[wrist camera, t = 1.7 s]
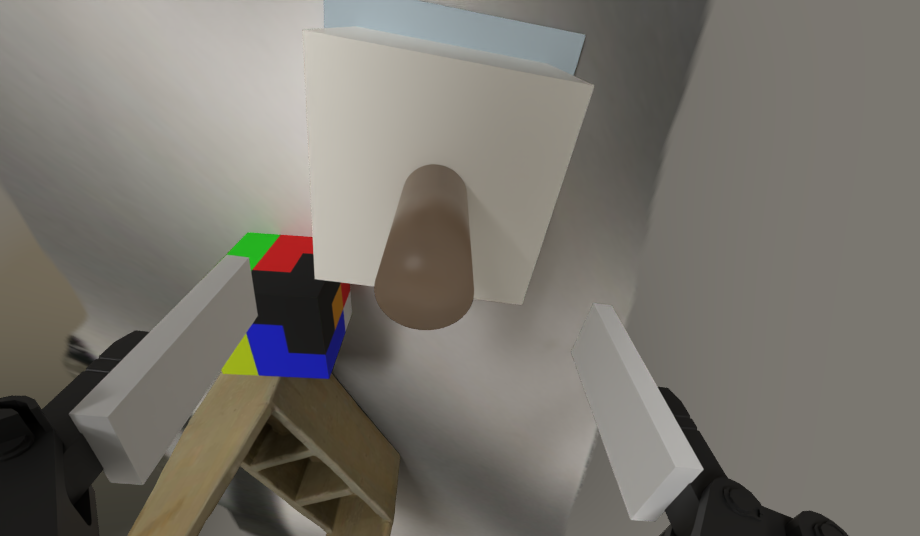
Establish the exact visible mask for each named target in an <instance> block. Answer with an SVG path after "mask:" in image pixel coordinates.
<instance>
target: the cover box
mask: <svg viewBox="0 0 920 536" xmlns="http://www.w3.org/2000/svg"><path fill="white" fill-rule="evenodd" d="M302 34H303V54H304V74H305V94H306V114H307V134H308V155H309V175H310V195H311V215H312V235H313V255H314V275H315V279H318V280H326V281H334V282H342V283H350V284H358V285H366V286H374V293H375V298H376V300H377V303H378V305H379V307H380V308H381V309H382V311H383V312H384V313H385V314H386V315H387V316H388V317H389V318H391V319H392V320H394V321H395V322H397V323H399V324H401V325H403V326H406V327H409V328H413V329H418V330H434V329H440V328H444V327H446V326H449V325H451V324H453V323H455V322H457V321H458V320H459V319H461V318H462V317H463V316H464V315H465V314H466V313H467V311H468V310H469V308H470V306H471V304H472V302H473V299H477V300H485V301H493V302H501V303H509V304H517V305H522V304H523V301H524V298H525V295H526V292H527V289H528V286H529V283H530V280H531V277H532V274H533V271H534V268H535V265H536V262H537V259H538V256H539V252H540V249H541V246H542V243H543V240H544V237H545V234H546V231H547V228H548V225H549V222H550V219H551V216H552V213H553V210H554V207H555V204H556V201H557V198H558V195H559V192H560V189H561V186H562V183H563V180H564V177H565V174H566V171H567V168H568V165H569V162H570V159H571V156H572V153H573V150H574V146H575V143H576V140H577V137H578V134H579V131H580V128H581V125H582V122H583V119H584V116H585V113H586V110H587V107H588V104H589V101H590V98H591V95H592V92H593V89H594V85H592V84H590V83H588V82H586V81H584V80H582V79H579V78H577V77H575V76H573V75H571V74H569V73H567V72H564V71H562V70H560V69H558V68H556V67H554V66H551V65H549V64H547V63H542V62H537V61H532V60H527V59H522V58H516V57H511V56H506V55H501V54H496V53H491V52H486V51H481V50H475V49H470V48H465V47H460V46H455V45H450V44H445V43H439V42H434V41H429V40H424V39H419V38H414V37H409V36H404V35H398V34H393V33H388V32H383V31H378V30H373V29H368V28H362V27H357V26H353V27H337V28H321V29H305V30H302Z"/></svg>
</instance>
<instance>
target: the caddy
mask: <svg viewBox="0 0 920 536" xmlns="http://www.w3.org/2000/svg"><path fill="white" fill-rule="evenodd" d="M399 464H400V455H399V454H398V452H397V451H396V450H395V449H394V447H393V446H392V445H391V444H390V443H389V442H388V440H387V439H386V438H385V437H384V436H383V435H382V434H381V432H380V431H379V430H378V429H377V427H376V426H375V425H374V424H373V422H372V421H371V420H370V419H369V418H368V417H367V416H366V415H365V413H364V412H363V411H362V410H361V409H360V407H359V406H358V405H357V404H356V403H355V401H354V400H353V398H352V397H351V396H350V395H349V394H348V393H347V392H346V390H345V389H344V388H343V387H342V386H341V384H340V383H339V382H338V381H337V379H336V378H335V377H334V376H333V374H332V373H331V375H330V378H329V379H319V378H298V377H278V376H257V375H236V374H223V373H222V372H221V374H220V375H219V377H218V378H217V380H216V381H215V383H214V384H213V386H212V388H211V389H210V391H209V392H208V394H207V396H206V397H205V399H204V400H203V402H202V403H201V405H200V406H199V407H198V409H197V410H196V412H195V413H194V415H193V416H192V418H191V419H190V421H189V424H188V425H187V427H186V428H185V430H184V432H183V434H182V436H181V438H180V439H179V441H178V443H177V445H176V447H175V449H174V451H173V453H172V455H171V457H170V458H169V460H168V462H167V464H166V465H165V467H164V469H163V471H162V473H161V475H160V477H159V479H158V481H157V483H156V486H155V487H154V489H153V491H152V493H151V494H150V496H149V498H148V500H147V502H146V504H145V505H144V507H143V509H142V511H141V512H140V514H139V516H138V518H137V519H136V521H135V523H134V525H133V527H132V528H131V530H130V532H129V534H128V536H198V535H199V533H200V531H201V529H202V527H203V525H204V523H205V521H206V520H207V518H208V517H209V516H210V514H211V513H212V511H213V510H214V508H215V507H216V505H217V503H218V502H219V500H220V498H221V497H222V495H223V494H224V492H225V490H226V489H227V487H228V485H229V484H230V482H231V480H232V479H233V477H234V476H235V474H236V472H237V470H238V468H239V466H241V467H242V468H243V469H245V470H246V471H247V472H249V473H250V474H251V475H252V476H254V477H255V478H256V479H258V480H259V481H260V482H262V483H263V484H264V485H266V486H267V487H268V488H269V489H271V490H272V491H273V492H274V493H276V494H277V495H278V496H280V497H281V498H282V499H284V500H285V501H286V502H287V503H288V504H289V505H291V506H292V507H293V508H294V509H296V510H297V511H298V512H300V513H301V514H302V515H304V516H305V517H307V518H308V519H310V520H311V521H312V522H314V523H315V524H317V525H318V526H320V527H321V528H322V529H323V530H324V531H325V532H326V533H327V534H326V536H390V534H391V529H392V525H393V520H394V514H395V502H396V493H397V483H398V473H399Z"/></svg>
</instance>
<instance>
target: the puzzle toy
mask: <svg viewBox="0 0 920 536" xmlns="http://www.w3.org/2000/svg"><path fill="white" fill-rule="evenodd" d="M226 255H233V256H241V257H248V258H249V261H250V268H251V274H252V281H253V287H254V294H255V300H256V307H257V313H258V316H257V318H256V319H255V321H254V322H253V324H252V325H251V327H250V328H249V329H248V331H247V332H246V334H245V335H244V337H243V338H242V340H241V341H240V343H239V344H238V346H237V347H236V349H235V350H234V352H233V353H232V355H231V356H230V357H229V359H228V360H227V362H226V363H225V365H224V366H223V368H222V369H221V370H222V373H223V374H236V375H257V376H278V377H298V378H319V379H329V378H330V375H331V372H332V370H333V367H334V364H335V361H336V358H337V355H338V352H339V349H340V347H341V344H342V341H343V338H344V335H345V332H346V329H347V326H348V324H349V321H350V318H351V315H352V305H351V293H350V283H342V282H334V281H326V280H318V279H315V275H314V255H313V237H304V236H290V235H276V234H261V233H247V234H246V235H245V236H244V237H243V238H242V239H241V240H240V241H239V242H238V243H237V244H236V245H235V246H234V247H233V248H232V249H231V250H230V251H229V252H228V253H227V254H226ZM226 255H225V256H226ZM225 256H224V257H225ZM224 257H223V258H224ZM223 258H222V259H223ZM222 259H221V260H222ZM221 260H220V261H221ZM220 261H219V262H220ZM219 262H218V263H219ZM218 263H217V264H218ZM217 264H216V265H217ZM216 265H215V266H216Z"/></svg>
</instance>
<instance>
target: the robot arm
mask: <svg viewBox="0 0 920 536" xmlns="http://www.w3.org/2000/svg"><path fill="white" fill-rule="evenodd" d="M257 316H258V313H257V307H256V300H255V294H254V287H253V281H252V274H251V268H250V261H249V258H248V257H241V256H233V255H226V256H225V257H224V258H223V259H222V260H221V261H220V262H219V263H218V264H217V265H216V266H215V267H214V268H213V269H212V270H211V271H210V272H209V273H208V274H207V275H206V276H205V277H204V278H203V279H202V280H201V281H200V282H199V283H198V284H197V285H196V286H195V287H194V288H193V289H192V290H191V291H190V292H189V293H188V294H187V295H186V296H185V297H184V298H183V299H182V300H181V301H180V302H179V303H178V304H177V305H176V306H175V307H174V308H173V309H172V310H171V311H170V312H169V313H168V314H167V315H166V316H165V317H164V318H163V319H162V320H161V321H160V322H159V323H158V324H157V325H156V326H155V327H154V328H153V329H152V330H151V331H150V332H145V331H133V332H132V333H130V334H128V335H126V336H124V337H123V338H121V339H119V340H117V341H115V342H114V343H113V344H112V345H111V346H110V347H109V348H107V349H106V350H105V351H104V352H103V353H102V354H101V355H100V356H99V359H96V360H95V361H93V362H92V363H91V364H90V365H89V366H88V367H87V368H86V371H83V372H82V373H81V374H80V375H78V376H77V377H76V378H75V379H74V380H73V381H72V382H71V383H70V384H69V385H68V386H67V387H66V388H65V389H63V390H62V391H61V392H60V393H59V394H58V395H57V396H56V397H55V398H54V399H53V400H52V401H51V402H49V403H48V404H47V405H46V406H45V407H44V408H43V409H41V408H40V406H39V405H38V404H37V402H36V401H35V400H34V399H32V398H30V397H27V396H8V397H3V398H0V536H99V527H98V517H97V508H96V499H95V491H94V489H93V487H92V485H91V484H92V483H93V482H94V480H95V479H96V478H97V477H98V475H99V474H100V473H101V472H102V470H103V471H104V473H105V474H106V476H107V478H108V479H109V481H110V482H111V483H124V484H137V485H143V484H144V483H145V481H146V480H147V478H148V477H149V475H150V474H151V472H152V471H153V470H154V468H155V467H156V465H157V464H158V462H159V461H160V459H161V458H162V456H163V455H164V453H165V452H166V450H167V449H168V447H169V446H170V444H171V443H172V442H173V440H174V439H175V437H176V436H177V434H178V433H179V431H180V430H181V428H182V427H183V425H184V424H185V422H186V421H187V419H188V418H189V416H190V415H191V414H192V412H193V411H194V409H195V408H196V406H197V405H198V403H199V402H200V400H201V399H202V397H203V396H204V394H205V393H206V391H207V390H208V388H209V387H210V385H211V384H212V383H213V381H214V380H215V378H216V377H217V375H218V374H219V372H220V371H221V369H222V368H223V366H224V365H225V363H226V362H227V360H228V359H229V357H230V356H231V355H232V353H233V352H234V350H235V349H236V347H237V346H238V344H239V343H240V341H241V340H242V338H243V337H244V335H245V334H246V332H247V331H248V329H249V328H250V327H251V325H252V324H253V322H254V321H255V319H256V318H257ZM571 354H572V357H573V360H574V362H575V365H576V368H577V371H578V374H579V376H580V379H581V382H582V385H583V388H584V390H585V393H586V396H587V399H588V402H589V405H590V407H591V410H592V413H593V416H594V419H595V421H596V424H597V427H598V430H599V433H600V435H601V438H602V441H603V444H604V446H605V449H606V452H607V455H608V458H609V461H610V463H611V466H612V469H613V472H614V475H615V478H616V480H617V483H618V486H619V488H620V492H621V494H622V497H623V500H624V503H625V506H626V508H627V511H628V514H629V517H630V520H640V521H654V522H655V521H656V520H657V519H658V518H659V517H660V516H661V515H662V514H663V513H664V512H666V514H667V516H668V519H669V521H670V523H671V524H670V525H669V526H668V527H667V528H666V530H664V532H662V534H660V535H659V536H848V535H847V533H846V532H845V531H844V530H842V529H841V528H840V527H839V526H838V525H837V524H835V523H834V522H833V521H831V520H830V519H828V518H826V517H825V516H823V515H821V514H818V513H816V512H813V511H802V512H801V513H800V514H798V515H797V516H796V517H794V518H791V517H788V516H786V515H783V514H781V513H778V512H776V511H773V510H771V509H768V508H766V507H763V506H761V504H760V502H759V501H758V500H757V499H756V498H755V496H754V495H753V494H752V493H751V492H750V491H749V490H747V489H746V488H745V487H743V486H742V485H741V484H739V483H737V482H735V481H733V480H731V479H728V477H727V476H726V475H725V473H724V471H723V470H722V468H721V467H720V465H719V463H718V461H717V460H716V458H715V456H714V455H713V453H712V451H711V450H710V448H709V447H708V445H707V443H706V442H705V440H704V438H703V437H702V435H701V433H700V432H699V431H697V427H696V425H695V424H694V422H693V420H692V419H690V415H689V413H688V412H687V410H686V408H685V407H684V405H683V404H682V402H681V401H680V400H679V399H678V398H677V397H676V396H675V395H674V394H673V393H672V392H671V391H670V390H669V389H668V388H663V387H657V385H656V384H655V382H654V380H653V378H652V377H651V375H650V373H649V371H648V369H647V368H646V366H645V364H644V362H643V360H642V359H641V357H640V355H639V353H638V352H637V350H636V348H635V346H634V344H633V343H632V341H631V339H630V337H629V335H628V334H627V332H626V330H625V328H624V327H623V325H622V323H621V321H620V319H619V318H618V316H617V314H616V312H615V310H614V309H613V307H612V305H607V304H599V303H593V304H592V307H591V309H590V311H589V313H588V315H587V318H586V320H585V322H584V324H583V327H582V329H581V331H580V333H579V335H578V338H577V340H576V342H575V344H574V346H573V349H572V351H571Z"/></svg>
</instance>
